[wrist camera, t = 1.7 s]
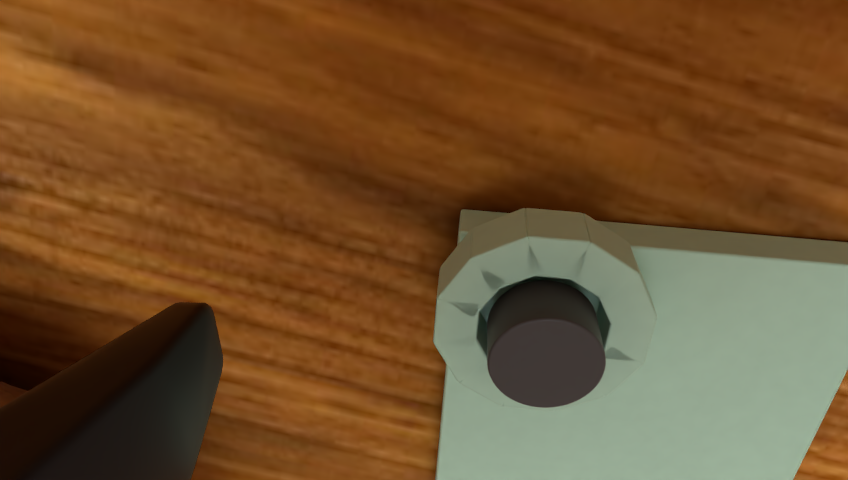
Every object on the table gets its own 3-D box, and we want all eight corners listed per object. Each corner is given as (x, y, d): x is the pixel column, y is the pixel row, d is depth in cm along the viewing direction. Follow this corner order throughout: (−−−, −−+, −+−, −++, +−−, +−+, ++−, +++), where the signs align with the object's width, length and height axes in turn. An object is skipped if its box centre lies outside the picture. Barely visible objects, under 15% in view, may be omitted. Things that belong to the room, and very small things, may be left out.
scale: (886, 214, 19) (949, 273, 17) (748, 512, 26) (777, 586, 23) (447, 177, 20) (442, 229, 17) (423, 478, 26) (416, 548, 24)
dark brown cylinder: (606, 284, 18) (616, 324, 16) (586, 369, 20) (594, 413, 18) (492, 273, 18) (493, 313, 17) (481, 359, 20) (481, 402, 18)
